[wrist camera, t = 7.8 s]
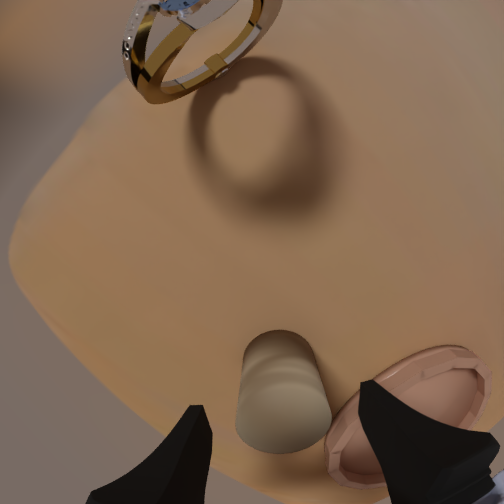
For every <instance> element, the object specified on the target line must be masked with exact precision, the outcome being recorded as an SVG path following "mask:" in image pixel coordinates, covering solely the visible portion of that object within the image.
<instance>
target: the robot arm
mask: <svg viewBox="0 0 504 504" xmlns="http://www.w3.org/2000/svg"><path fill="white" fill-rule="evenodd" d="M358 415H359V418H360V422H361V425H362V428H363V430H364V433H365V435H366V437H367V439H368V441H369V443H370V445H371V447H372V449H373V451H374V453H375V455H376V457H377V460H378V462H379V464H380V466H381V469H382V472H383V475H384V478H385V481H386V484H387V488H388V491H389V495H390V498H391V503H392V504H504V469H503V470H502V471H500V472H499V473H498V474H496V475H495V476H494V477H493V478H491V477H490V474H491V470H490V468H489V465H490V464H491V463H492V461H493V460H494V458H495V457H496V455H497V453H498V452H499V449H500V445H499V443H498V442H497V441H496V439H495V438H494V437H493V436H492V435H491V434H490V433H488V432H478V431H471V430H466V429H461V428H457V427H454V426H451V425H448V424H445V423H442V422H439V421H437V420H434V419H432V418H430V417H428V416H426V415H424V414H422V413H420V412H418V411H416V410H415V409H413V408H411V407H410V406H408V405H407V404H405V403H404V402H402V401H401V400H399V399H398V398H396V397H395V396H394V395H392V394H391V393H390V392H388V391H387V390H386V389H385V388H383V387H382V386H381V385H379V384H378V383H377V382H376V381H374V380H373V379H372V380H368V381H365V382H361V384H360V395H359V405H358ZM212 434H213V433H212V430H211V428H210V425H209V422H208V419H207V416H206V413H205V410H204V407H203V405H190V406H189V407H188V408H187V410H186V411H185V413H184V414H183V416H182V417H181V418H180V420H179V421H178V423H177V424H176V425H175V427H174V428H173V429H172V431H171V432H170V433H169V435H168V436H167V437H166V438H165V439H164V440H163V442H162V443H161V444H160V445H159V446H158V447H157V448H156V449H155V450H154V452H153V453H151V454H150V455H149V456H148V457H147V458H146V459H145V460H144V461H143V462H141V463H140V464H139V465H138V466H136V467H135V468H134V469H132V470H131V471H130V472H128V473H127V474H126V475H124V476H122V477H120V478H119V479H117V480H115V481H113V482H111V483H109V484H107V485H105V486H103V487H100V488H98V489H96V490H93V491H92V492H91V493H90V495H89V497H88V499H87V502H86V504H204V497H205V496H204V495H205V487H206V482H207V476H208V471H209V465H210V460H211V454H212Z"/></svg>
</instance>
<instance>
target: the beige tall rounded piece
mask: <svg viewBox="0 0 504 504" xmlns="http://www.w3.org/2000/svg"><path fill="white" fill-rule="evenodd" d="M331 421H332V414H331V410H330V407H329V404H328V401H327V397H326V394H325V391H324V387H323V384H322V381H321V378H320V375H319V371H318V368H317V365H316V362H315V359H314V356H313V353H312V349H311V347H310V345H309V344H308V342H307V341H306V340H305V339H304V338H303V337H302V336H300V335H298V334H296V333H294V332H291V331H287V330H273V331H268V332H265V333H263V334H261V335H259V336H257V337H256V338H254V339H253V340H252V341H251V342H250V343H249V345H248V346H247V348H246V350H245V352H244V357H243V365H242V373H241V381H240V389H239V398H238V406H237V414H236V430H237V433H238V435H239V436H240V438H241V439H242V440H243V441H244V442H245V443H246V444H248V445H249V446H251V447H253V448H254V449H257V450H259V451H263V452H267V453H275V454H284V453H292V452H296V451H300V450H303V449H306V448H308V447H310V446H312V445H313V444H315V443H316V442H318V441H319V440H320V439H321V438H322V437H323V436H324V435H325V434H326V433H327V431H328V430H329V428H330V425H331Z"/></svg>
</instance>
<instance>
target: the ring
mask: <svg viewBox="0 0 504 504" xmlns="http://www.w3.org/2000/svg"><path fill="white" fill-rule="evenodd" d="M210 1H211V0H167V1H166V2H164V0H138V1H137V3H136V5H135V7H134V9H133V11H132V13H131V16H130V18H129V21H128V23H127V26H126V29H125V33H124V38H123V44H122V59H123V66H124V70H125V73H126V75H127V78H128V79H129V81H130V82H131V83H132V85H133V86H134V87H135V89H136V90H137V91H138V92H139V93H140V94H141V95H142V96H143V98H144V99H145V100H146V101H147V102H148V103H150V104H163V103H168V102H171V101H174V100H176V99H179V98H181V97H183V96H185V95H187V94H189V93H191V92H193V91H195V90H197V89H198V88H200V87H202V86H204V85H205V84H207V83H208V82H210V81H212V80H213V79H215V78H216V79H218V78H220V77H222V76H223V75H225V74H226V73H227V72H228V71H229V68H230V67H232V66H233V65H234V64H236V63H237V62H238V61H239V60H240V59H241V58H243V57H244V56H245V55H246V54H247V53H248V52H249V51H250V50H251V49H252V48H253V47H254V46H255V45H256V44H257V43H258V42H259V41H260V40H261V39H262V37H263V36H264V35H265V34H266V33H267V31H268V30H269V29H270V27H271V26H272V24H273V23H274V21H275V19H276V18H277V16H278V14H279V12H280V9H281V6H282V2H283V0H253V10H252V13H251V16H250V19H249V21H248V23H247V24H246V26H245V28H244V29H243V31H242V32H241V33H240V35H239V36H238V37H237V38H236V39H235V40H234V41H233V42H232V43H231V44H230V45H229V46H228V47H227V48H226V49H225V50H224V51H222V52H221V53H220V54H215V55H213V56H211V57H210V58H208V59H207V60H206V61H205V62H204V65H203V66H201V67H200V68H198V69H196V70H195V71H193V72H191V73H189V74H187V75H185V76H182V77H180V78H177V79H174V80H171V81H165V82H162V80H163V78H164V76H165V74H166V72H167V70H168V68H169V67H170V65H171V63H172V62H173V60H174V59H175V57H176V56H177V54H178V53H179V52H180V50H181V49H182V48H183V46H184V45H185V43H186V42H187V41H188V40H189V38H190V37H191V36H192V35H193V34H194V33H195V32H196V31H197V30H198V29H199V28H201V27H203V26H205V25H207V24H209V23H210V22H213V21H215V20H216V19H218V18H220V17H221V16H223V15H224V14H225V13H226V12H227V11H228V10H230V9H231V8H232V7H233V6H234V5H235V4H236V3H237V2H238V1H239V0H212V1H211V2H210ZM204 4H207V5H205V6H204V7H203V8H201V6H202V5H204ZM200 8H201V9H200ZM158 12H159V13H160V14H161V15H163V16H166V17H171V16H172V15H177V20H178V21H179V23H180V24H179V25H178V26H177V27H176V28H175V29H174V30H173V31H172V32H171V33H170V34H169V35H168V36H167V37H166V38H165V39H164V40H163V41H162V42H161V43H160V44H159V46H158V47H157V48H156V49H155V50H154V52H153V53H152V54H151V55H150V57H149V58H148V60H147V61H146V63H145V51H146V44H147V39H148V36H149V32H150V29H151V27H152V24H153V22H154V19H155V17H156V15H157V13H158Z"/></svg>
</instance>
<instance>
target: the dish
mask: <svg viewBox="0 0 504 504" xmlns="http://www.w3.org/2000/svg"><path fill="white" fill-rule="evenodd" d="M373 380H374V381H376V382H377V383H378V384H379V385H381V386H382V387H383V388H385V389H386V390H387V391H388V392H390V393H391V394H392V395H394V396H395V397H396V398H398V399H399V400H401V401H402V402H404V403H405V404H407V405H408V406H410V407H411V408H413V409H415V410H416V411H418V412H420V413H422V414H424V415H426V416H428V417H430V418H432V419H434V420H437V421H439V422H442V423H445V424H448V425H451V426H454V427H457V428H461V429H466V430H471V429H472V428H473V427H474V425H475V424H476V423H477V421H478V420H479V418H480V417H481V415H482V413H483V411H484V409H485V406H486V404H487V402H488V399H489V397H490V394H491V385H492V371H491V370H490V369H489V368H488V367H487V366H486V364H485V363H484V362H483V361H482V359H481V358H480V357H479V356H478V355H476V354H475V353H474V352H473V351H469V350H468V349H466V348H464V347H462V346H458V345H441V346H436V347H432V348H428V349H425V350H422V351H420V352H417V353H415V354H413V355H410V356H408V357H406V358H404V359H402V360H401V361H399V362H397V363H395V364H394V365H392V366H390V367H389V368H387V369H386V370H384V371H383V372H381V373H380V374H378V375H377V376H376V377H374V378H373ZM359 395H360V390H359V391H357V392H356V393H355V394H354V395H353V396H352V397H351V398H350V399H349V400H348V401H347V402H346V403H345V405H344V406H343V407H342V408H341V409H340V411H339V412H338V413H337V415H336V416H335V418H334V419H333V421H332V423H331V425H330V428H329V430H328V431H327V433H326V436H325V442H324V451H325V455H326V460H325V463H326V467H327V471H328V474H329V475H330V476H331V477H332V478H333V479H334V480H335V481H336V482H337V483H338V484H339V485H341V486H346V487H351V488H356V489H369V488H377V487H384V486H387V484H386V481H385V478H384V475H383V472H382V469H381V466H380V464H379V462H378V460H377V457H376V455H375V453H374V451H373V449H372V447H371V445H370V443H369V441H368V439H367V437H366V435H365V433H364V430H363V428H362V425H361V422H360V418H359V415H358V405H359Z"/></svg>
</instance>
